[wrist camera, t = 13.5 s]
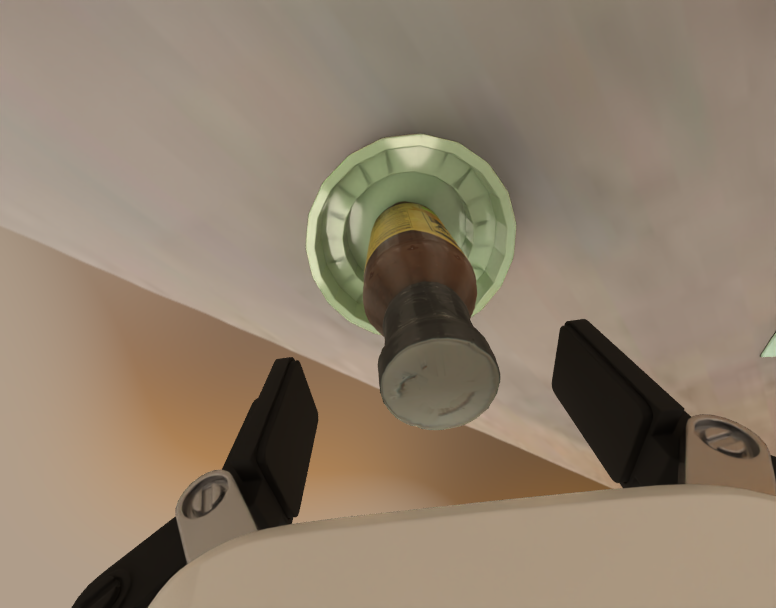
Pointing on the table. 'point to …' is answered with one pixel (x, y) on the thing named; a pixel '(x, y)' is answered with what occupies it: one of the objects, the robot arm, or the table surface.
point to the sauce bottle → (426, 321)
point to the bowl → (411, 184)
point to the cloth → (770, 348)
